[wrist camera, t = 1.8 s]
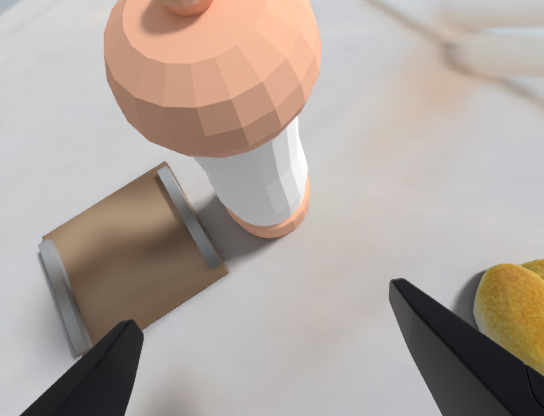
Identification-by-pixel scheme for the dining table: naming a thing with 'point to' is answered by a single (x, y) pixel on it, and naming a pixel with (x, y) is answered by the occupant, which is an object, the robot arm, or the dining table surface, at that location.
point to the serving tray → (129, 258)
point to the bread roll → (514, 310)
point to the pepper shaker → (223, 95)
